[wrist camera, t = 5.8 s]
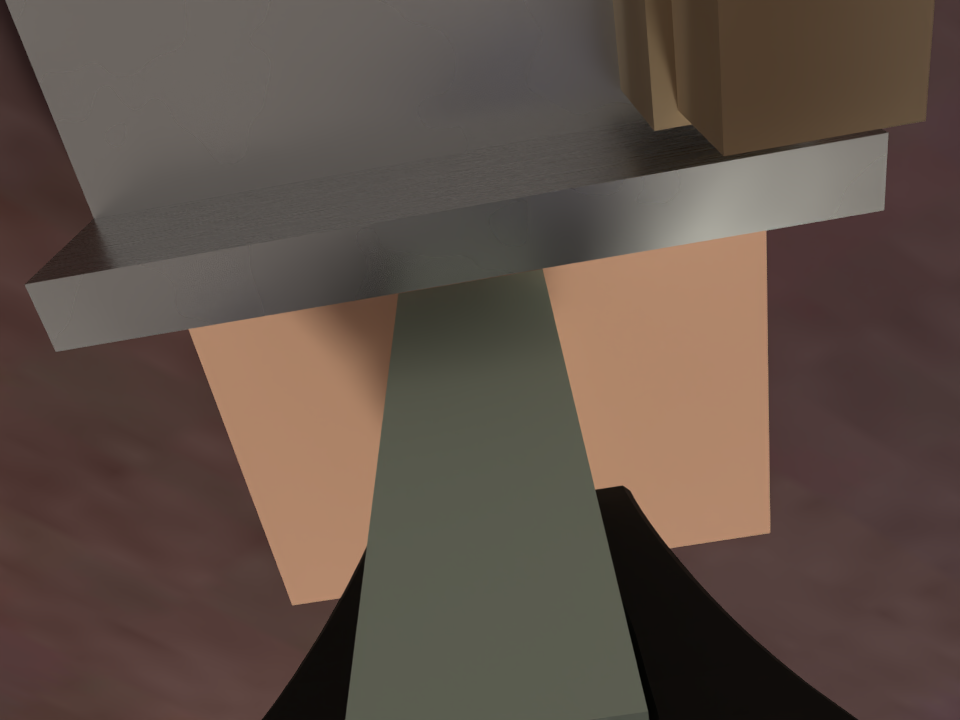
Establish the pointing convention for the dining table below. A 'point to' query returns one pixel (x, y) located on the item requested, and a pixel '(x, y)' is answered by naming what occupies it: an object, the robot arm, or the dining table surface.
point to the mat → (594, 383)
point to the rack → (372, 155)
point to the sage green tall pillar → (487, 526)
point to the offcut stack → (775, 67)
